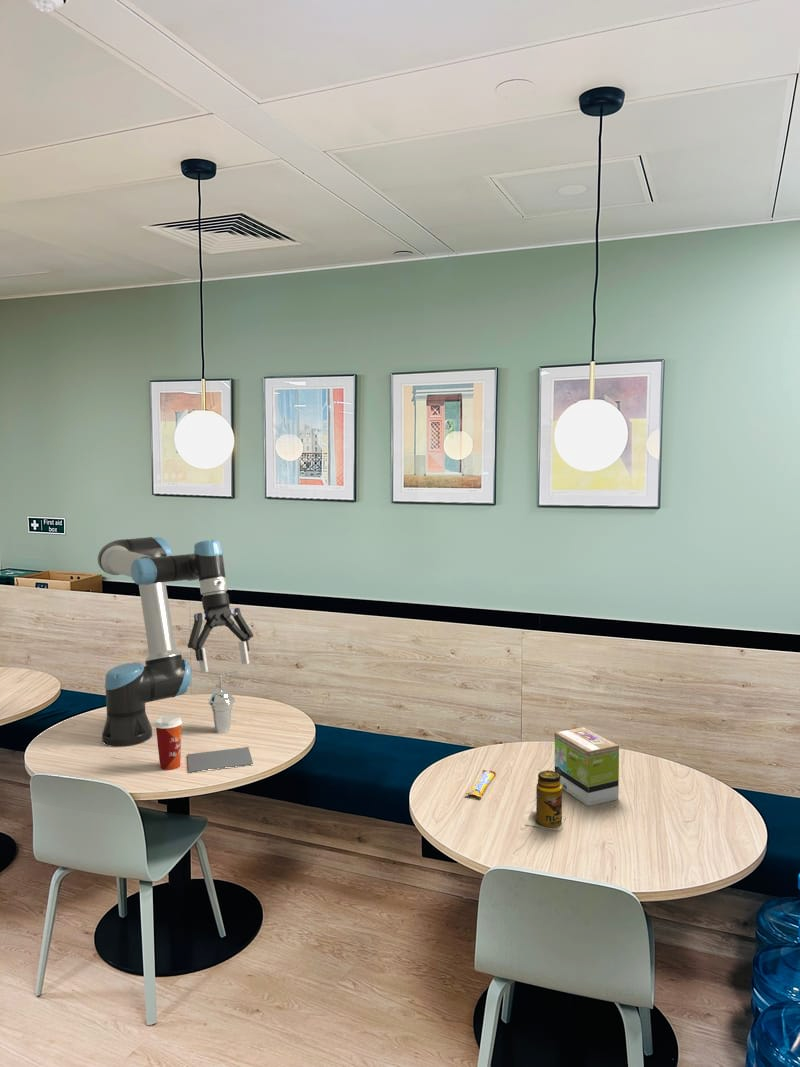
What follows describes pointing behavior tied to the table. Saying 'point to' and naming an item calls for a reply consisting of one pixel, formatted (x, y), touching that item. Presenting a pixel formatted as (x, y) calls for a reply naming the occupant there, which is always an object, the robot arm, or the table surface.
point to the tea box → (587, 765)
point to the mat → (219, 759)
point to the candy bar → (482, 783)
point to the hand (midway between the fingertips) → (225, 668)
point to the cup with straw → (222, 707)
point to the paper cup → (169, 741)
